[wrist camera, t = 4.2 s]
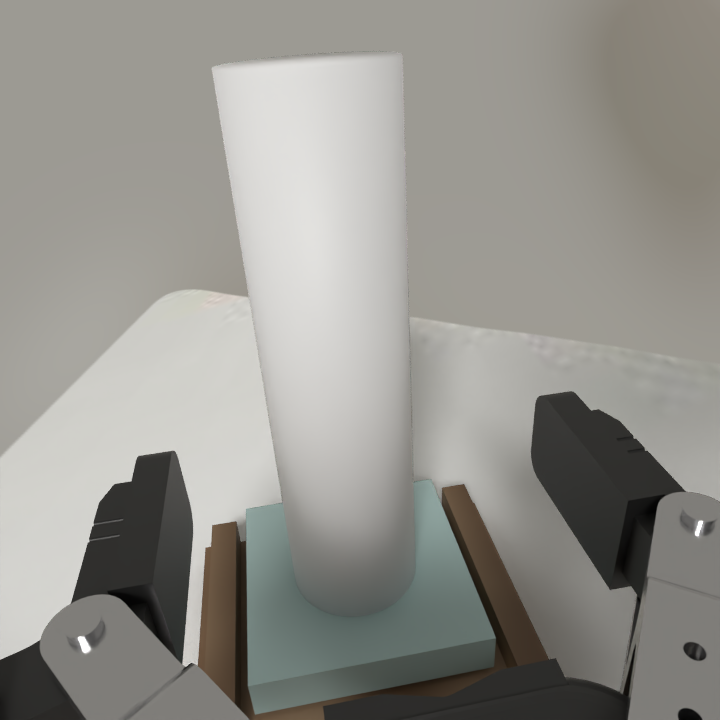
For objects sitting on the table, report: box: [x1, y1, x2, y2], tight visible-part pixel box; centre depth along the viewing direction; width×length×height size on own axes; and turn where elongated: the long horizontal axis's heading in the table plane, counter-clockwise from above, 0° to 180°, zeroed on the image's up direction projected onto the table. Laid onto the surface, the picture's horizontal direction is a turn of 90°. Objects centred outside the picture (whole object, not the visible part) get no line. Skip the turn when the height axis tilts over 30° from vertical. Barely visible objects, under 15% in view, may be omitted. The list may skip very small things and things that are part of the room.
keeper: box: [212, 51, 496, 714], centre depth 19 cm, size 8×8×18 cm
